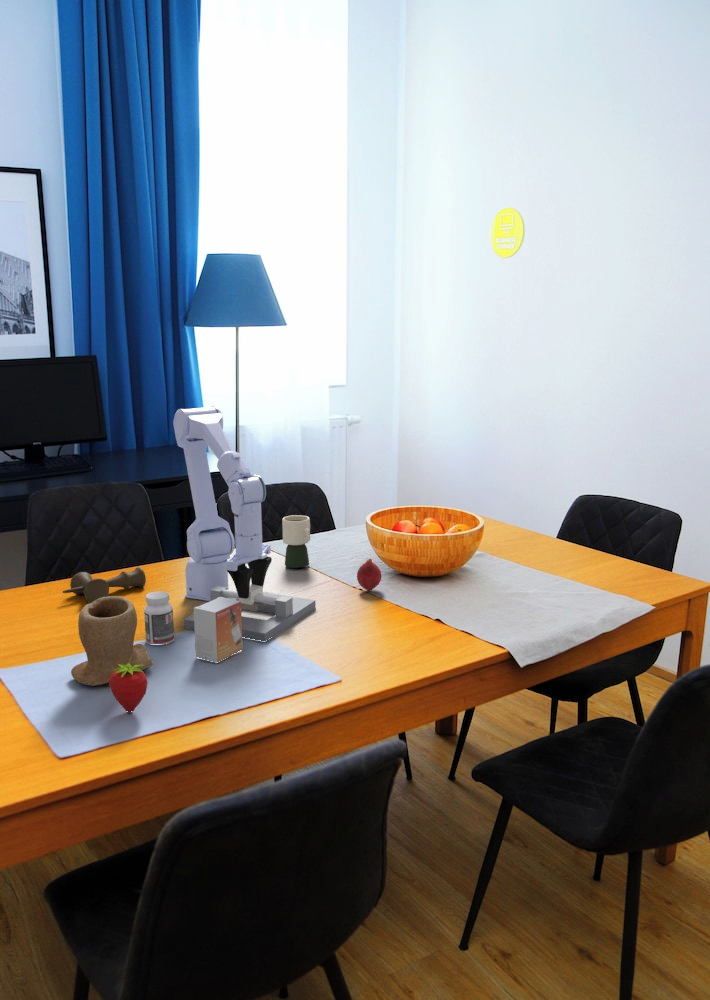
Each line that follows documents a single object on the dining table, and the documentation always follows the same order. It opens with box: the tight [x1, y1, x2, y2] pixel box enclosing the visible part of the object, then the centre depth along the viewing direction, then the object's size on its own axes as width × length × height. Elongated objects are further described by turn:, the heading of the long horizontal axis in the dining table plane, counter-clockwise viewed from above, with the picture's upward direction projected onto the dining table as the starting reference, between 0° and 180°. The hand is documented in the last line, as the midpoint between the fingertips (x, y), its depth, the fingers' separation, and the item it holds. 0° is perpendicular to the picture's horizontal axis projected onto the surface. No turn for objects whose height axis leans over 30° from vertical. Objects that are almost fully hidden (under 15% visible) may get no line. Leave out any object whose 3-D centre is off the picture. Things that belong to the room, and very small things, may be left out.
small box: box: [193, 597, 243, 663], centre depth 173 cm, size 8×6×10 cm
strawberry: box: [108, 656, 149, 713], centre depth 150 cm, size 6×8×10 cm
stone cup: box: [70, 595, 154, 687], centre depth 164 cm, size 15×12×15 cm
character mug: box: [281, 514, 311, 569], centre depth 229 cm, size 11×7×13 cm, turn 40°
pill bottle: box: [143, 590, 175, 645], centre depth 181 cm, size 6×6×10 cm
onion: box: [356, 558, 383, 592], centre depth 211 cm, size 6×6×8 cm
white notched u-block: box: [238, 583, 267, 612], centre depth 193 cm, size 5×5×4 cm
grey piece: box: [182, 586, 317, 641], centre depth 194 cm, size 20×22×6 cm
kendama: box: [62, 566, 147, 604], centre depth 210 cm, size 6×10×20 cm
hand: (250, 593), depth 193 cm, fingers open, 5 cm apart
